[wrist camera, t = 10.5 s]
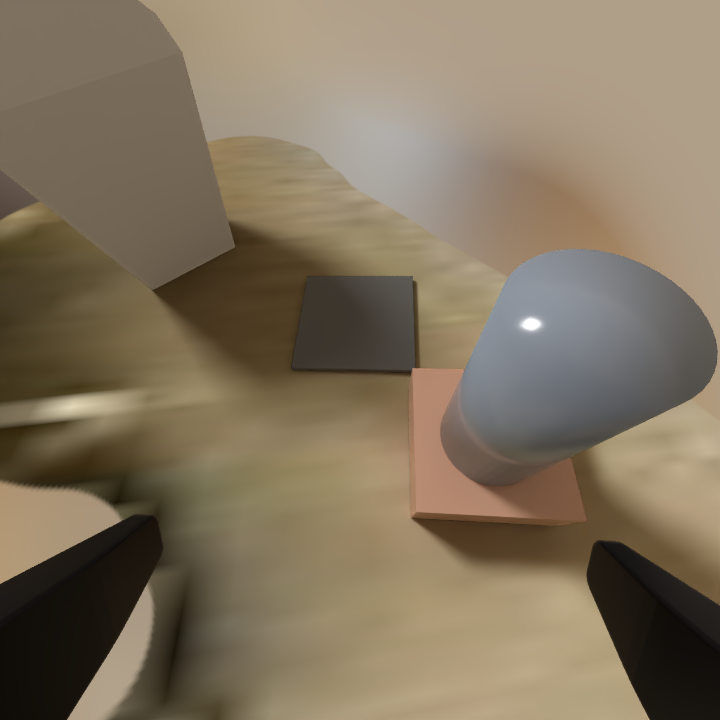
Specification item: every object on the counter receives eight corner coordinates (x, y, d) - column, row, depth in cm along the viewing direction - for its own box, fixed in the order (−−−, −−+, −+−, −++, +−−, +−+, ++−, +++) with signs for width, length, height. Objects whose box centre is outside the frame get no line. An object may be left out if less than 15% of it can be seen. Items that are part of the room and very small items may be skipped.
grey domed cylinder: (537, 500, 16) (739, 439, 7) (431, 468, 17) (488, 378, 8) (542, 405, 19) (698, 266, 9) (449, 382, 20) (508, 236, 10)
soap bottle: (213, 194, 36) (-64, -392, 14) (258, 242, 32) (-37, -494, 9) (100, 246, 33) (-512, -413, 10) (133, 308, 28) (-785, -585, 6)
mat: (414, 372, 24) (415, 370, 24) (292, 370, 25) (291, 367, 24) (412, 279, 28) (412, 276, 28) (308, 279, 29) (307, 275, 29)
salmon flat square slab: (553, 525, 19) (587, 521, 16) (410, 517, 19) (416, 512, 16) (526, 395, 23) (549, 371, 20) (408, 391, 23) (412, 368, 20)
